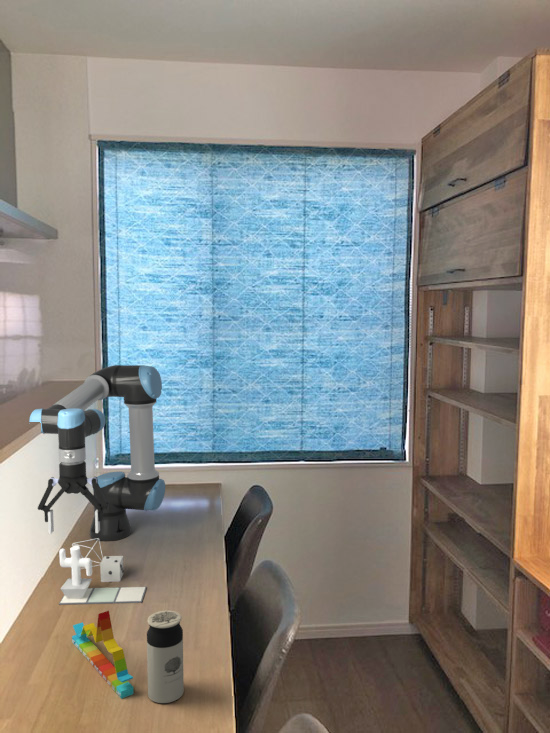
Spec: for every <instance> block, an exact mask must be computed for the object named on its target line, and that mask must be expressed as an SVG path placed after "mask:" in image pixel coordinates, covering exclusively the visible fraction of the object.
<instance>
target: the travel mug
mask: <svg viewBox="0 0 550 733" xmlns="http://www.w3.org/2000/svg"><path fill="white" fill-rule="evenodd" d="M181 621H182V614H180V613H179V612H178V611H174V610H169V609H168V610H159V611H156V612H154V613H152V614H150V615H149V616H148V618H147V624H148V626H149V628H148V629H147V631H146V656H147V657H146V659H147V661H146V663H147V664H146V665H147V697H148V698H149V699H150V700H151V701H153V702H154V703H159V704H168V703H169V704H170V703H172V702H175V701H176V700H179V699H180V698H182V696H183V695H184V690H185V689H184V686H185V685H184V680H185V678H184V630H183V628H182V626H181Z"/></svg>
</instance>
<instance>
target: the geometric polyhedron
mask: <svg viewBox="0 0 550 733" xmlns="http://www.w3.org/2000/svg"><path fill="white" fill-rule="evenodd" d="M97 539H99V538H97ZM93 540H95V539H92V538H90V539H88V540H83V541H77V542H72V544H71V546H72V547H73V546H75V545H78V546H79V547H84V548H87V549H88V548H89V551H88V552H87V554H86V556H85V557H84V556H83V555H82V554H80V557H81V558H88V556H89V555H90V552H92V550H93V552H94V553H95V554H96V556H97V558H98V559H99V560H100V561H101V562H102V560H103V558H104V556H103V552H102V547H101V541H99V540H95V543H94V544H93V546H92V547H89V546H86V545H82V544H78V543H83V542H88V541H93ZM97 542H98V543H99V548H100V552H101V558H102V559H101V558H100V556H99V555H98V553H97V552H96V550H94V547H95V546H96V544H97ZM93 562H94V563H97V564H96V565H92V568H93V567H97V566H98V567H99V564H100V562H99V561H95V560H92V563H93ZM83 569H85V567H81V570H83Z"/></svg>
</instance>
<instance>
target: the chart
mask: <svg viewBox="0 0 550 733" xmlns="http://www.w3.org/2000/svg"><path fill="white" fill-rule="evenodd" d="M97 617H98V618H97V626H96V625H95V622H91V623H89V624H88V623H87V624H85V623H83V621H82V622H80V623H75V624H72V627H73V630H74V633H75V634H74V635H71V642H72V644H73V645H74V646H75V647H76V648H77V649H78V651H80V653H81V654H82V655H83V657H85V659H86V660H87V661H88V662H89V663H90V664H91V666H92V667H93V668H94V669H95V670H96V672H98V674H99V675H100V676H101V677H102V679H104V681H105V682H106V683H107V684H108V686H110V687H111V689H112V690H113V691H114V693H116V695H117V696H118V697H119V698H120V699H121V700H122V699H124V698H127V697H129V696H132V695H134V686H133V685H132V683H130V682H129V681H130V680H133V679H134V676H132V675H131V674H130V673H129V672H128V671H129V670H128V665H127V662H126V657H125V652H124V648H122V647H121V646H119V644H118V643H117V641H116V639H115V637H114V632H113V627H112V626H113V625H112V620H111V615H110V611H109V610H106V611H103V612H100V613H98V614H97ZM91 636H93V639H94V642H95V644H96V643H100V642H103V644H104V647H105V648H106V650H107V652H108V653H110V654H111V655H112V658H113V664H114V665H113V664H112V662H111V661H110V660H109V659H108V658H107V657H106V655H105V654H103V652H102V651H101V650H100V649H99V648H98V647H97V646H96V645H95V644H94V643H93V642H92V640H91V639H89V637H91Z"/></svg>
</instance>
